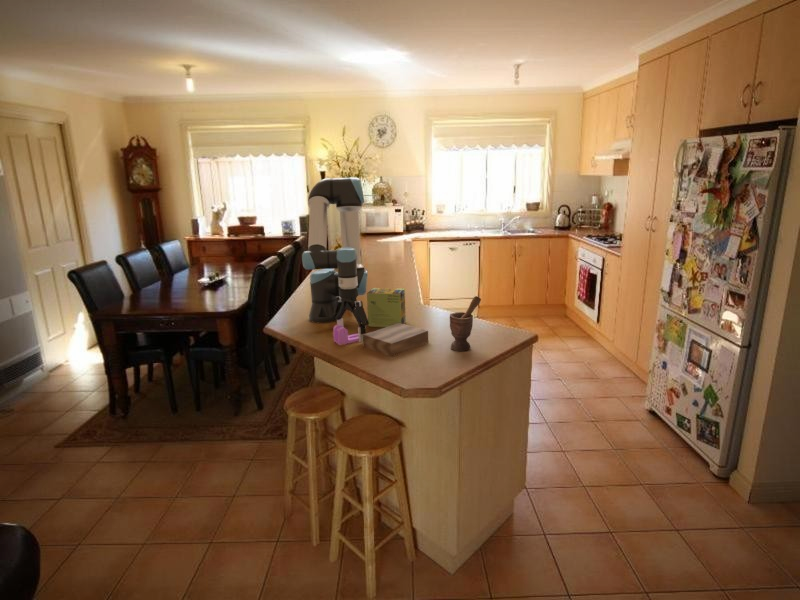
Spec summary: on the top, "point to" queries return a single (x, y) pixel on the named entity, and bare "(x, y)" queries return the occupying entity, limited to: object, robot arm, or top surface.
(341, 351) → the top surface
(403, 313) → the protein box
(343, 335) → the bracket
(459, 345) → the mortar and pestle
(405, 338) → the walnut block
